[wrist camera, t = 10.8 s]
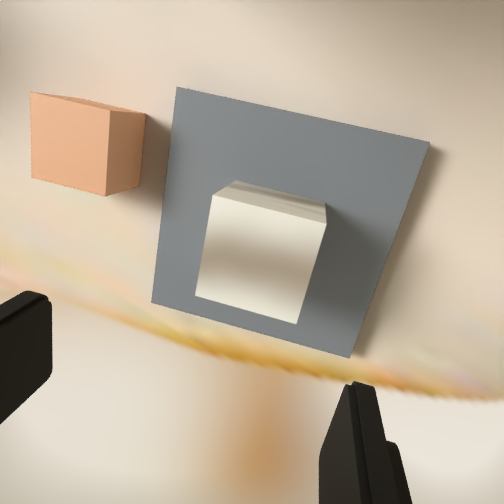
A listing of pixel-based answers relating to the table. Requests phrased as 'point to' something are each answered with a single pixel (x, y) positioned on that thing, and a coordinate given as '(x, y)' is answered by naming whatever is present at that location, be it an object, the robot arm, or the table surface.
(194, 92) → the base board
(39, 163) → the terracotta block
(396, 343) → the table surface
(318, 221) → the cream block
